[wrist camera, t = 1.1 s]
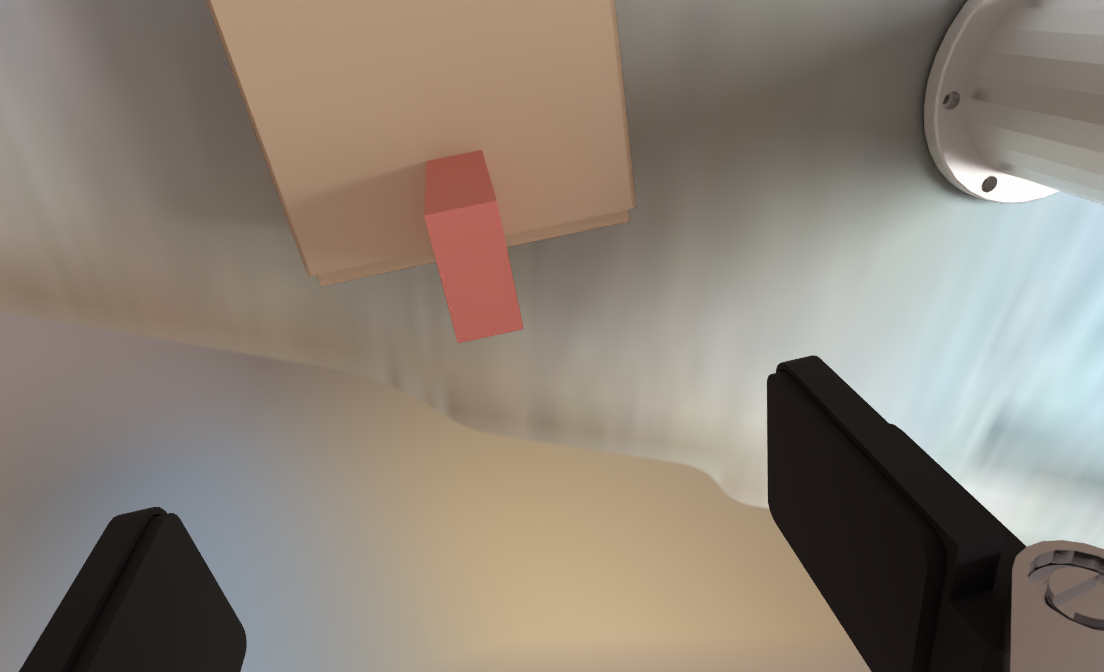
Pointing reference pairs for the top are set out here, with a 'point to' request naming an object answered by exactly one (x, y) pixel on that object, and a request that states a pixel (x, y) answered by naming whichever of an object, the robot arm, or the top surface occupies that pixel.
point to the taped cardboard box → (434, 130)
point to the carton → (429, 256)
